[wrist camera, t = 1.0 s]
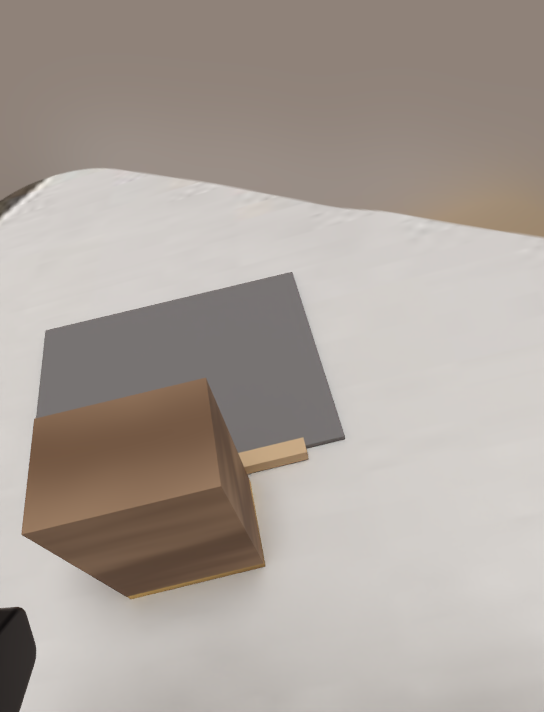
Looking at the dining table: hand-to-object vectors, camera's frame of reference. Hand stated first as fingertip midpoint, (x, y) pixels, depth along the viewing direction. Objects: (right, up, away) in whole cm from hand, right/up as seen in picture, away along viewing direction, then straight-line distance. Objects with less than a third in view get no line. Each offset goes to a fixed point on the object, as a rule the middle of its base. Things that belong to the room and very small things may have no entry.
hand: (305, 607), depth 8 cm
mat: (-6, +3, +21) cm, 22 cm away
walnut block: (-4, -4, +15) cm, 16 cm away
